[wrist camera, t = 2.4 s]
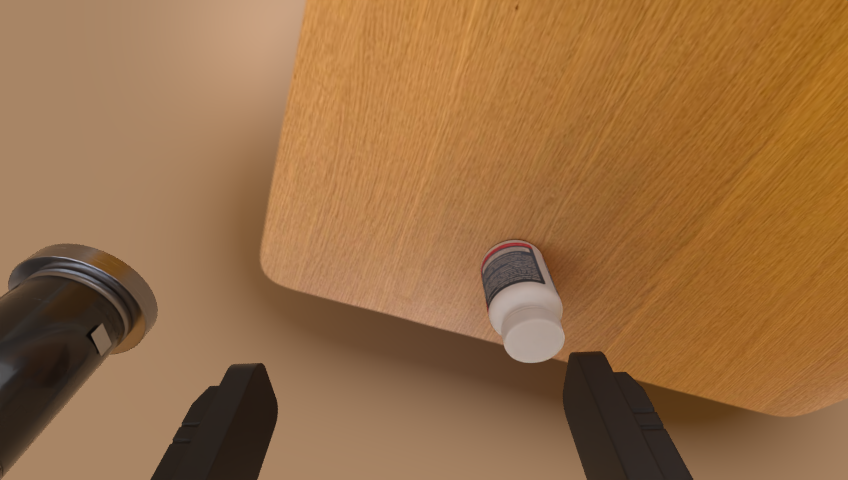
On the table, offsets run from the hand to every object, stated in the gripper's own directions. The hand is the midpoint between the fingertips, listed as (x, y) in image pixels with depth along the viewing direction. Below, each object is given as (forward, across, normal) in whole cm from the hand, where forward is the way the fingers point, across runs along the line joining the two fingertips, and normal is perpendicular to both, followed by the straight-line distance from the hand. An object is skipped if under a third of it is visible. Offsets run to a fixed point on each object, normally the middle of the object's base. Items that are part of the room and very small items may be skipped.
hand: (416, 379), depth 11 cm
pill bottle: (+22, -7, +11) cm, 25 cm away
